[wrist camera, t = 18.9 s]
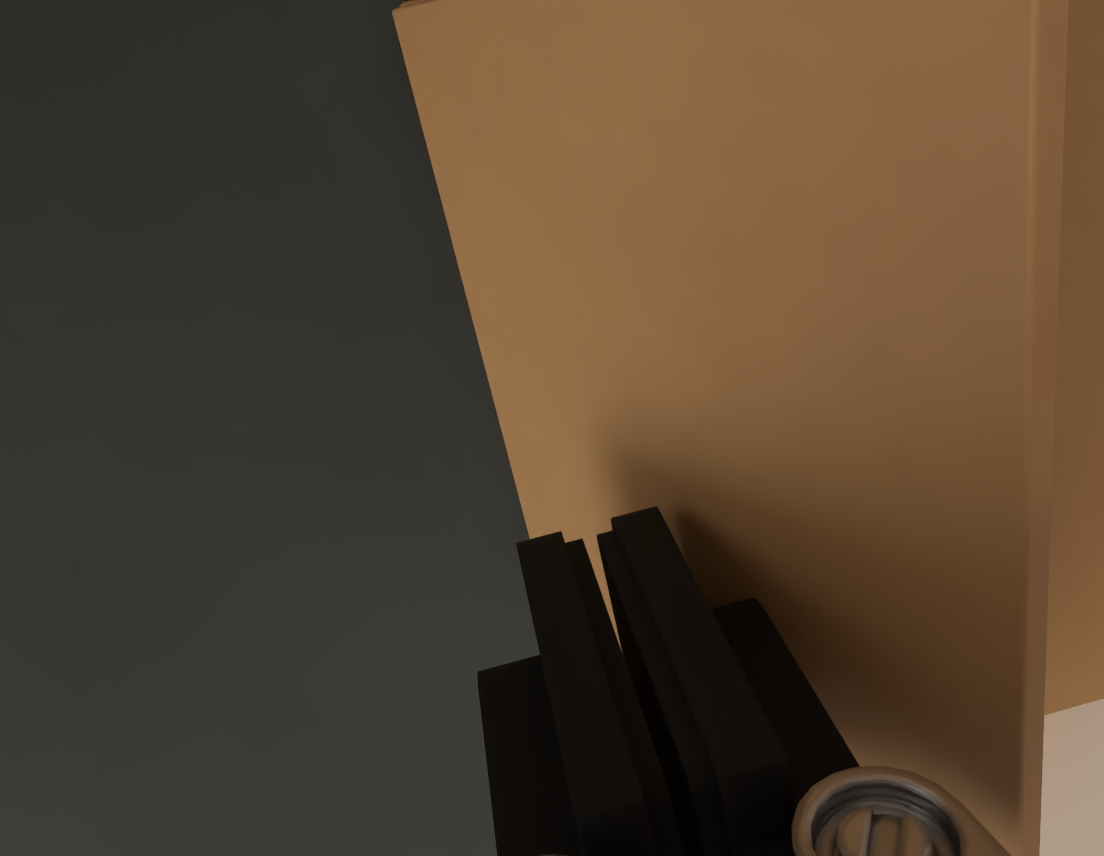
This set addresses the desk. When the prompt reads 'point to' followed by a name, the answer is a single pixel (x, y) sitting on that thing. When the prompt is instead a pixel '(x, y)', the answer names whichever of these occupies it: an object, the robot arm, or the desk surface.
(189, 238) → the desk surface
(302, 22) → the desk surface
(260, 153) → the desk surface
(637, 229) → the flap
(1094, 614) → the carton
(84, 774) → the desk surface
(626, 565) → the robot arm
